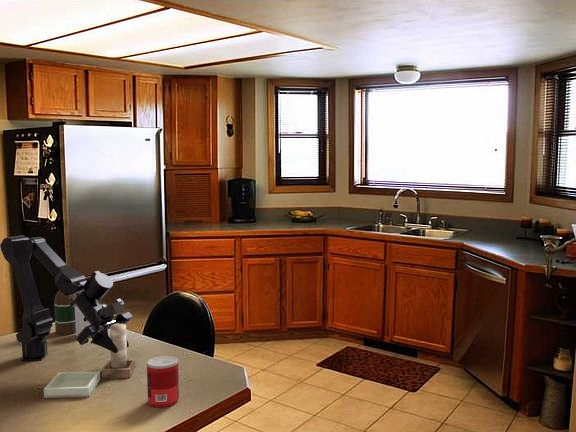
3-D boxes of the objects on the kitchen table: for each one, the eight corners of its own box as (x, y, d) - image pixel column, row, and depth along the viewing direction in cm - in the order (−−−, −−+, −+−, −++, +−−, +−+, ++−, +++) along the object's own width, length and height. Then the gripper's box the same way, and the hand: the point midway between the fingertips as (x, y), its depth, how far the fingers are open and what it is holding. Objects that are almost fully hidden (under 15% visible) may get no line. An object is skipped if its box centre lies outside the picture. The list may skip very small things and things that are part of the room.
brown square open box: (102, 378, 162) (101, 369, 162) (108, 367, 170) (108, 359, 170) (130, 377, 163) (130, 369, 163) (136, 367, 171) (135, 359, 171)
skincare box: (97, 333, 204) (95, 301, 203) (91, 337, 199) (90, 304, 198) (80, 333, 204) (79, 300, 203) (75, 336, 200) (74, 303, 199)
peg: (109, 375, 164) (108, 328, 163) (113, 369, 169) (112, 323, 167) (125, 374, 164) (124, 328, 163) (128, 368, 169) (127, 323, 168)
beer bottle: (82, 330, 208) (80, 266, 205) (68, 336, 200) (65, 270, 198) (65, 328, 210) (63, 265, 208) (50, 334, 203) (47, 268, 200)
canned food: (184, 401, 147) (184, 360, 146) (158, 411, 141) (157, 368, 140) (167, 392, 152) (166, 353, 151) (142, 402, 147) (140, 361, 145)
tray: (44, 398, 149) (43, 389, 149) (58, 381, 160) (58, 372, 160) (89, 396, 150) (88, 387, 149) (100, 379, 161) (100, 371, 161)
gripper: (83, 299, 157) (116, 342, 154) (126, 285, 174) (157, 324, 171) (62, 323, 161) (94, 366, 158) (107, 307, 178) (136, 346, 175)
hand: (122, 349), depth 165 cm, fingers closed on peg, 4 cm apart
